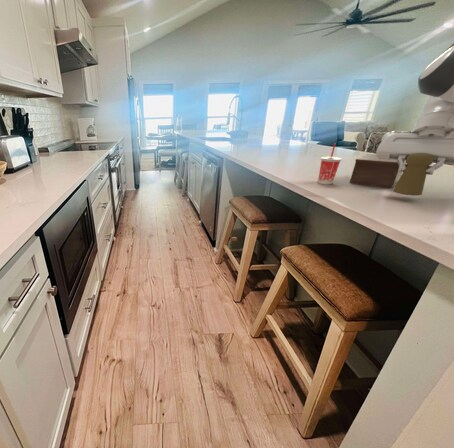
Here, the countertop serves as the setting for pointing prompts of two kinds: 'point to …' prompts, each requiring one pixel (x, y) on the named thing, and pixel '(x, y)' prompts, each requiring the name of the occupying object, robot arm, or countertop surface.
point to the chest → (376, 174)
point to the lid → (375, 159)
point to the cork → (414, 174)
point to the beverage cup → (328, 168)
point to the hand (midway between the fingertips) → (414, 172)
